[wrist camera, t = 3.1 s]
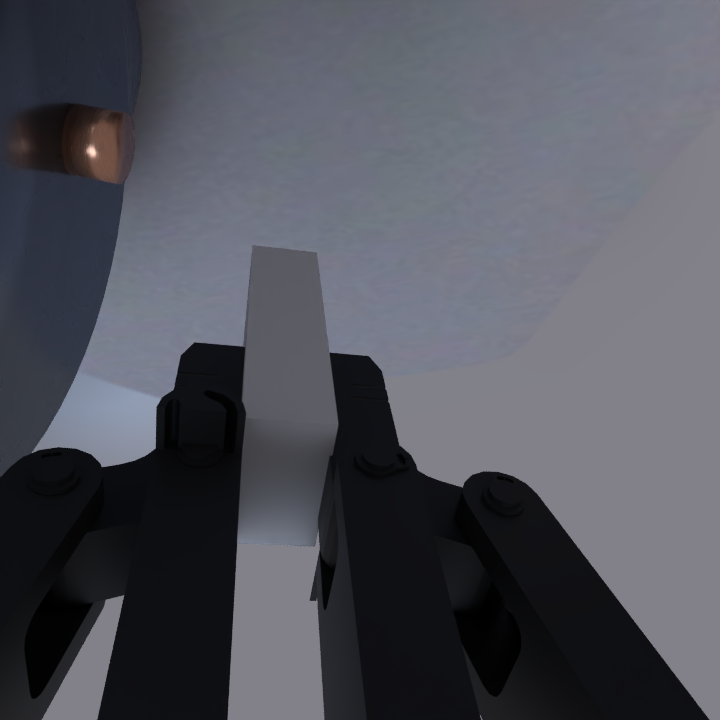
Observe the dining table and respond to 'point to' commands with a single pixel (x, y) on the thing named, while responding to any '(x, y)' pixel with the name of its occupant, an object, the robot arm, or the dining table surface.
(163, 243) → the dining table surface
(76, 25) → the pot lid
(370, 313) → the dining table surface
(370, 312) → the dining table surface
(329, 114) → the dining table surface
